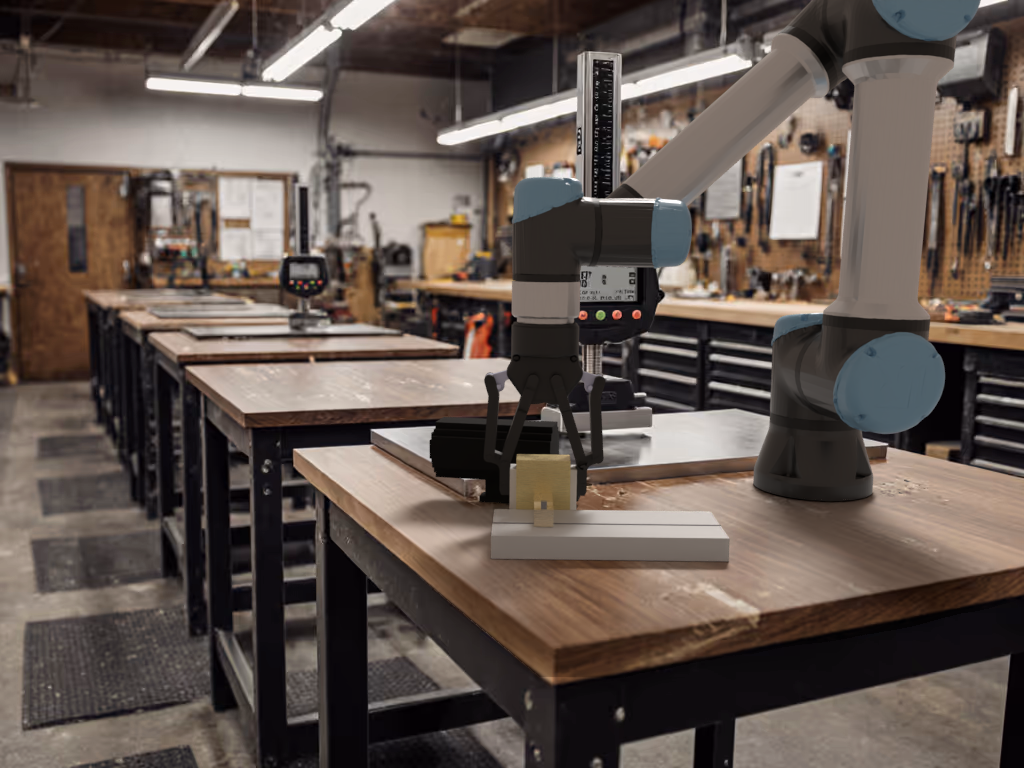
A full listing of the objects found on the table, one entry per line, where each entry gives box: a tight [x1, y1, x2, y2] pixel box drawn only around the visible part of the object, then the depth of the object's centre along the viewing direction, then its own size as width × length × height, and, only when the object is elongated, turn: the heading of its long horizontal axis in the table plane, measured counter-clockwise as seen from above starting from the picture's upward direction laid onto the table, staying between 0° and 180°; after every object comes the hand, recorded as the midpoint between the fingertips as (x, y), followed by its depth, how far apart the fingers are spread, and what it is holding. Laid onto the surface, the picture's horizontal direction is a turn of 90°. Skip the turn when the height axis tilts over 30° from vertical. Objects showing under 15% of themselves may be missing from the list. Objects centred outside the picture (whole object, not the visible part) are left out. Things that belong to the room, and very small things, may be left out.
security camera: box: [429, 416, 581, 505], centre depth 118 cm, size 7×18×10 cm, turn 78°
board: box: [490, 508, 731, 562], centre depth 101 cm, size 24×10×2 cm, turn 89°
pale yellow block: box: [516, 454, 572, 527], centre depth 103 cm, size 6×10×8 cm, turn 179°
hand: (542, 522), depth 108 cm, fingers closed on pale yellow block, 6 cm apart
